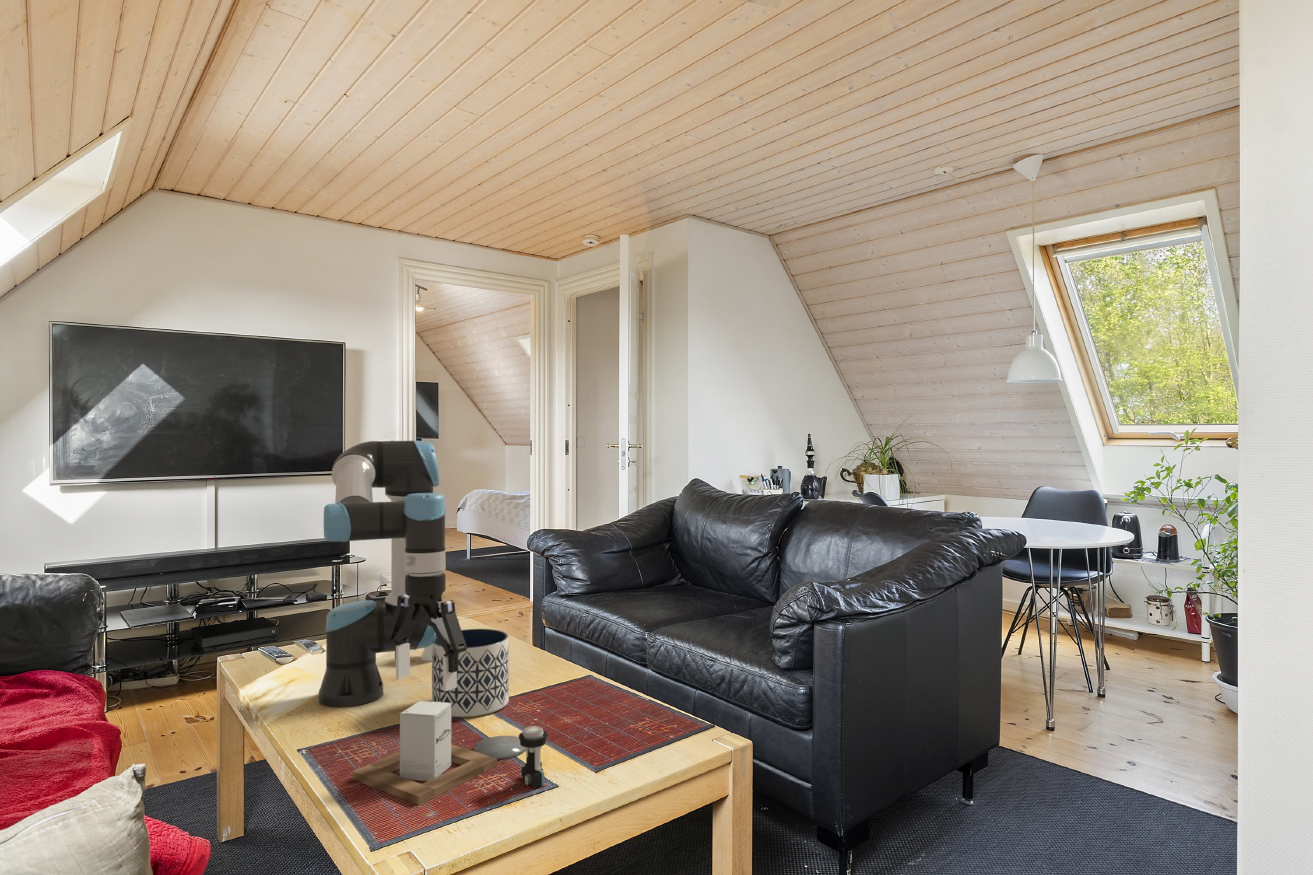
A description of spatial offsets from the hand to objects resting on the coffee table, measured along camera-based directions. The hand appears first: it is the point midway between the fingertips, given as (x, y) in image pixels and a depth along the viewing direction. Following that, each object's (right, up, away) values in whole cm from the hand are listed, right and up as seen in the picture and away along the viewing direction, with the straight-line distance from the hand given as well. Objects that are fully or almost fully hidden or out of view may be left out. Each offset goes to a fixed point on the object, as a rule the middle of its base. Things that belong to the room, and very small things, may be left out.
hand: (425, 683), depth 146 cm
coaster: (+12, -17, +11) cm, 24 cm away
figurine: (-21, -18, +78) cm, 83 cm away
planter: (-1, -18, +38) cm, 42 cm away
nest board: (0, -17, 0) cm, 17 cm away
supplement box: (0, -18, 0) cm, 18 cm away
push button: (+21, -17, -4) cm, 28 cm away
